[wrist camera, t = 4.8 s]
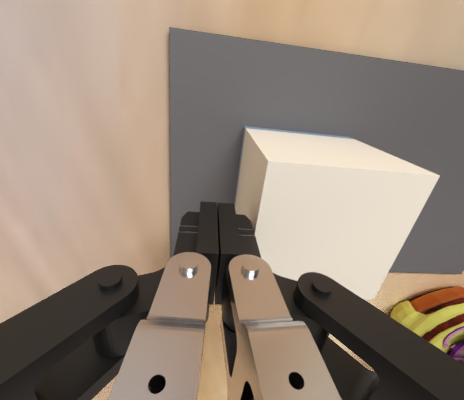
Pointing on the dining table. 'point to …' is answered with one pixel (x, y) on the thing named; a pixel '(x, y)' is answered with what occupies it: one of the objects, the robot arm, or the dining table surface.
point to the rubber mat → (316, 124)
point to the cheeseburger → (436, 319)
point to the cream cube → (328, 205)
